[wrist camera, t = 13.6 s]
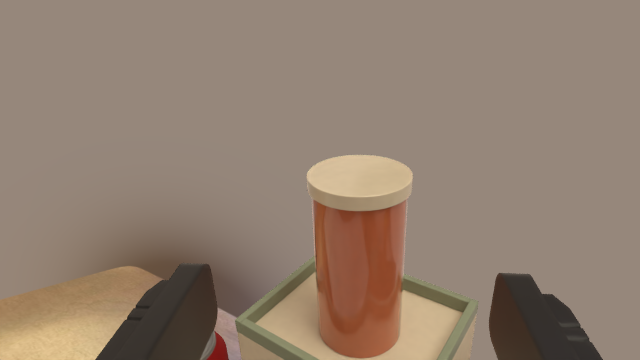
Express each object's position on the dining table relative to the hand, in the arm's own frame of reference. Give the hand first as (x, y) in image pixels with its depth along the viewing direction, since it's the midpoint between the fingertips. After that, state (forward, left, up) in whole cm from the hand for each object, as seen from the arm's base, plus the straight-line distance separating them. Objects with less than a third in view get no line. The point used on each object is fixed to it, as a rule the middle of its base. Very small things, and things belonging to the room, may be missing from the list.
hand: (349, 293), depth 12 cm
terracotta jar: (+5, -9, -12) cm, 16 cm away
